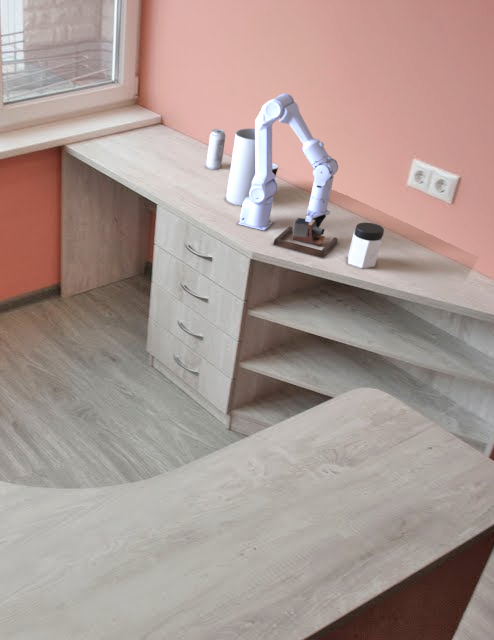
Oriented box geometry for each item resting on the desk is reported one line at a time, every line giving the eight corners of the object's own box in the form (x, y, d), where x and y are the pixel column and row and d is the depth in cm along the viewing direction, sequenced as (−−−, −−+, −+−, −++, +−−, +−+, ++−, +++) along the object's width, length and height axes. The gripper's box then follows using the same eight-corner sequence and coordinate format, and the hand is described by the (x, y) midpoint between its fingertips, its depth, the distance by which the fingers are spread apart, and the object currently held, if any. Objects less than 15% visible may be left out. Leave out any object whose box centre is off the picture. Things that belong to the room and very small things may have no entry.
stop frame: (273, 244, 265) (274, 239, 264) (288, 231, 274) (289, 225, 272) (322, 258, 256) (323, 252, 255) (336, 243, 265) (338, 238, 264)
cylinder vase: (224, 205, 293) (234, 138, 279) (226, 192, 303) (236, 127, 289) (259, 208, 290) (272, 141, 276) (260, 195, 300) (272, 130, 286)
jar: (355, 269, 249) (365, 234, 243) (341, 258, 256) (349, 223, 249) (381, 266, 251) (391, 231, 244) (365, 255, 258) (375, 220, 251)
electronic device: (320, 247, 263) (322, 228, 258) (291, 240, 268) (293, 222, 263) (325, 239, 265) (327, 221, 260) (296, 232, 270) (298, 214, 265)
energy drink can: (213, 163, 328) (218, 127, 320) (224, 168, 324) (229, 131, 316) (202, 166, 326) (207, 130, 317) (213, 171, 321) (218, 134, 313)
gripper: (324, 206, 253) (316, 245, 260) (340, 192, 262) (331, 230, 270) (302, 201, 257) (294, 240, 264) (318, 187, 266) (310, 225, 274)
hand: (311, 235), depth 267 cm, fingers closed, pressing on electronic device
